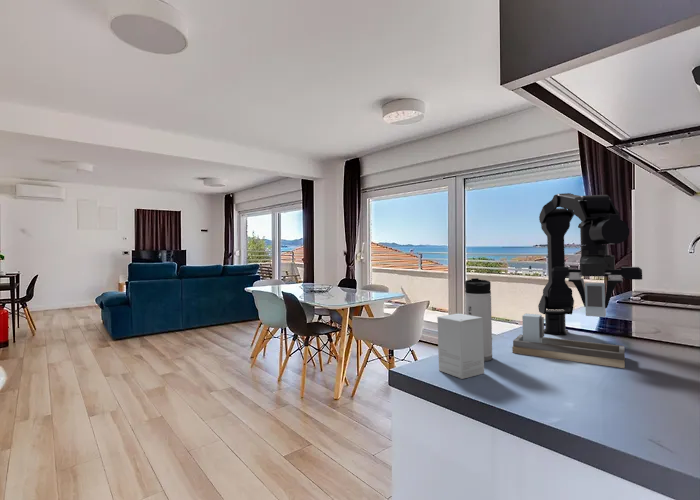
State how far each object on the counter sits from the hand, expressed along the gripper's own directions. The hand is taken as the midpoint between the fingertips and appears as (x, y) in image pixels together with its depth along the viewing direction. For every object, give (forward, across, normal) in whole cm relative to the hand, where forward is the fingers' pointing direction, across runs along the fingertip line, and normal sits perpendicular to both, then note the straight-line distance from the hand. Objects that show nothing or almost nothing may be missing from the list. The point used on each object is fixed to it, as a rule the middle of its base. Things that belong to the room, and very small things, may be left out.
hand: (595, 307), depth 94 cm
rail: (+12, -6, -2) cm, 14 cm away
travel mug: (+13, -24, -16) cm, 32 cm away
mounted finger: (+11, -14, -2) cm, 18 cm away
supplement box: (+13, -24, -29) cm, 40 cm away
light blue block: (+2, 0, 0) cm, 2 cm away
